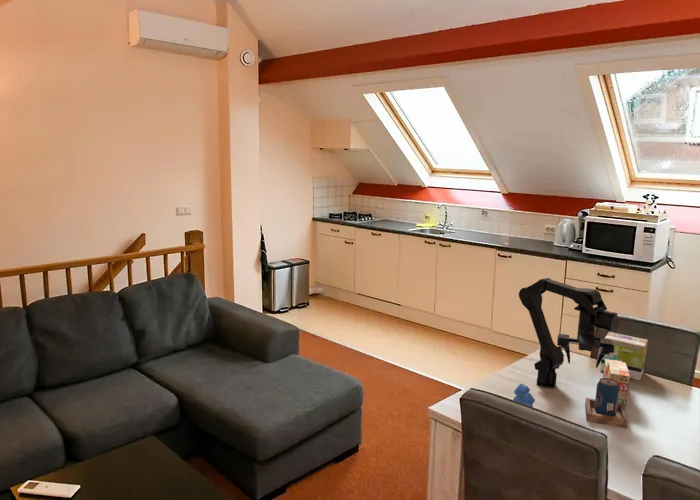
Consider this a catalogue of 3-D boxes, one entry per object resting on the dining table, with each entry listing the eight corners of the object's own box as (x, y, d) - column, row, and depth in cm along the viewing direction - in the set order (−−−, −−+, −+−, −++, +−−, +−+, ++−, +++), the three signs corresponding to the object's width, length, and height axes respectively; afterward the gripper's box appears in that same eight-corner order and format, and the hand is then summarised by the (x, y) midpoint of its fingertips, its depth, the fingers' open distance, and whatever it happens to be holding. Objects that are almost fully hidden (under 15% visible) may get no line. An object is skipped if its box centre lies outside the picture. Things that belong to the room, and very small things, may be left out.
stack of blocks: (602, 380, 216) (605, 351, 213) (619, 383, 214) (623, 353, 211) (606, 404, 196) (610, 372, 194) (626, 407, 194) (630, 375, 191)
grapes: (541, 425, 181) (544, 391, 179) (521, 425, 180) (524, 392, 178) (526, 408, 192) (529, 376, 190) (508, 408, 192) (510, 377, 189)
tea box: (599, 371, 224) (603, 337, 221) (604, 363, 232) (608, 330, 229) (640, 381, 215) (645, 346, 212) (643, 372, 223) (648, 338, 220)
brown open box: (586, 421, 184) (587, 413, 183) (585, 404, 195) (585, 397, 195) (627, 428, 180) (628, 420, 179) (623, 411, 191) (624, 404, 190)
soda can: (591, 408, 191) (594, 376, 189) (611, 409, 190) (615, 377, 188) (598, 418, 184) (601, 385, 182) (619, 419, 184) (623, 386, 181)
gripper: (559, 328, 190) (555, 369, 194) (617, 335, 184) (612, 378, 187) (559, 318, 201) (555, 358, 204) (615, 325, 194) (610, 366, 197)
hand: (582, 365), depth 198 cm, fingers open, 9 cm apart
